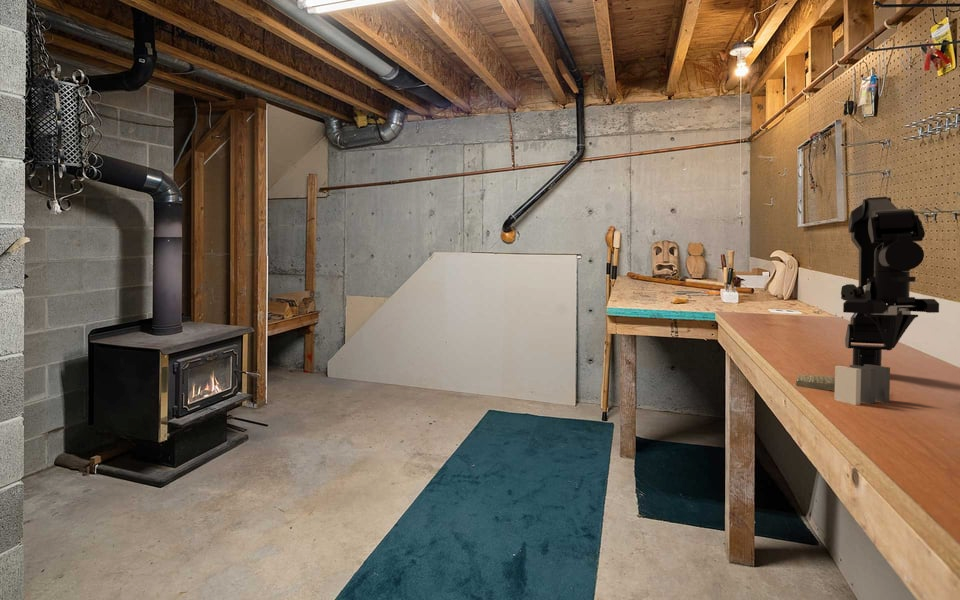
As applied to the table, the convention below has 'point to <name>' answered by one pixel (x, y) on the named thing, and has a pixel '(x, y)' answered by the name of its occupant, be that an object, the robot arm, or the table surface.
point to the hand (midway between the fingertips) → (889, 348)
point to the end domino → (847, 385)
